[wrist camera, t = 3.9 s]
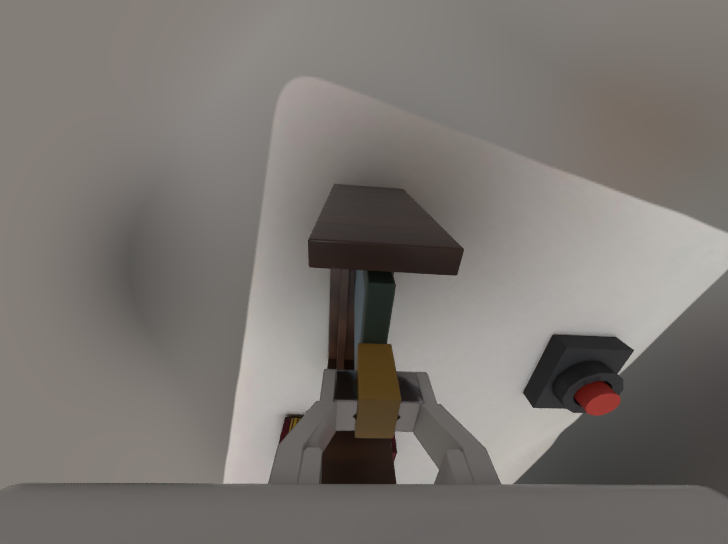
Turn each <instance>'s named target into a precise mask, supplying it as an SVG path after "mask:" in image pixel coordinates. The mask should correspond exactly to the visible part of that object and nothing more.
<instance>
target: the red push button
mask: <svg viewBox="0 0 728 544" xmlns="http://www.w3.org/2000/svg"><path fill="white" fill-rule="evenodd" d="M574 397H575V399H576V400H577V402H578V403H579V404H580V405H581V406H582V407H583V409H584V410H585V411H586V412H587V413H588V414H590V415H603V414H606V413H608V412H610V411H612V410H614V409H615V408H616V407H617V406H618V405H619V403H620V397H619V395H618V394H617V393H615V392H614V391H613V390H612V389H611V388H610V387H609V386H608V385H607V384H606V383H605V382H603V381H595V382H592V383H589V384H586V385H585V386H583V387H582V388H580V389H579V390H578V391H577V392H576V394H575V395H574Z"/></svg>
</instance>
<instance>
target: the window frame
mask: <svg viewBox="0 0 728 544" xmlns="http://www.w3.org/2000/svg"><path fill="white" fill-rule="evenodd" d="M463 251H464V249H463V248H462V247H461V246H460V245H459V244H458V243H457V242H456V241H455V240H454V239H453V238H452V237H451V236H450V235H449V234H448V233H447V232H446V231H445V230H444V229H443V228H442V227H441V226H440V225H439V224H438V223H437V222H436V221H435V220H434V219H433V218H432V217H431V216H430V215H429V214H428V213H427V212H426V211H425V210H424V209H423V208H422V207H421V206H420V205H419V204H418V203H417V202H415V201H414V200H413V199H412V198H411V197H410V196H409V195H408V194H407V193H406V192H405V191H404V190H403V189H393V188H380V187H368V186H355V185H342V184H334V185H333V188H332V190H331V192H330V194H329V196H328V198H327V201H326V203H325V205H324V207H323V209H322V211H321V214H320V216H319V218H318V220H317V222H316V224H315V227H314V229H313V231H312V233H311V235H310V237H309V240H308V257H309V267H314V268H331V280H330V320H329V359H328V367H327V369H341V370H354V295H355V282H356V270H367V271H385V272H392V274H393V275H394V272H403V273H420V274H438V275H457V274H458V270H459V266H460V263H461V259H462V255H463ZM321 484H396V477H395V469H394V461H393V453H392V445H391V438H355V430H352V431H336V432H335V434H334V435H333V437H332V439H331V440H330V442H329V443H328V445H327V447H326V448H325V450H324V451H323V453H322V482H321Z"/></svg>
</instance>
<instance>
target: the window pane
mask: <svg viewBox="0 0 728 544" xmlns="http://www.w3.org/2000/svg"><path fill="white" fill-rule="evenodd" d="M395 287H396V284H395V281H394V277H393V274H392V272H385V271H367V270H356V282H355V295H354V370H357V371H358V381H357V386H358V408H357V414H356V427H355V438H393V437H394V432H395V427H396V423H397V418H398V413H399V408H400V404H401V395H400V389H399V384H398V378H397V373H396V367H395V362H394V357H393V351H392V346H391V344H387V339H388V333H389V326H390V320H391V313H392V307H393V300H394V294H395Z"/></svg>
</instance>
